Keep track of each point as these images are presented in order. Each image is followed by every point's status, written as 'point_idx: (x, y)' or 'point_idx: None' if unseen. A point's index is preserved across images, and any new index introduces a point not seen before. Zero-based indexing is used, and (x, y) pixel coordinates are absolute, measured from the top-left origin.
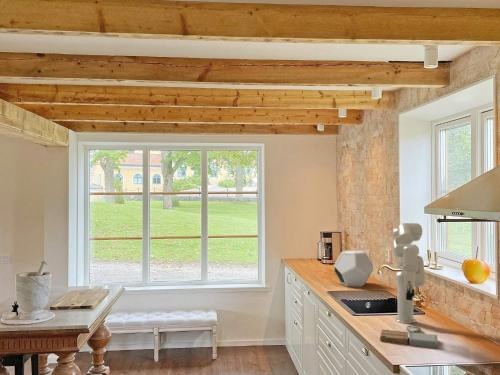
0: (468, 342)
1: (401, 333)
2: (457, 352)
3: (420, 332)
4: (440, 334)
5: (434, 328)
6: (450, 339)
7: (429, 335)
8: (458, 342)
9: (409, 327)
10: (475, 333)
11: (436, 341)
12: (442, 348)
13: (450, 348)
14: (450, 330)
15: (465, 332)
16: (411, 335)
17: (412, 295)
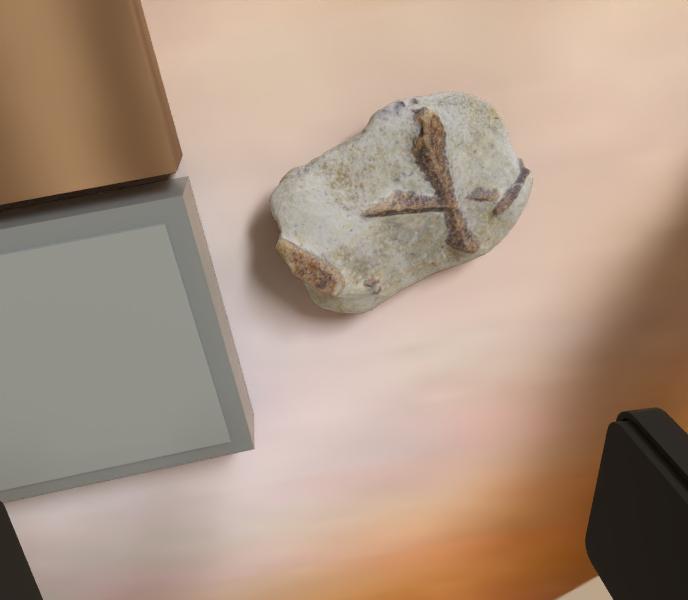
0: (333, 586)
1: (56, 105)
2: None
3: (308, 286)
4: (463, 402)
5: (646, 325)
6: (347, 487)
7: (171, 407)
8: (294, 542)
9: (397, 150)
10: (587, 577)
11: (18, 489)
12: None
13: (87, 531)
14: None
15: None
16: (53, 242)
17: (606, 541)
